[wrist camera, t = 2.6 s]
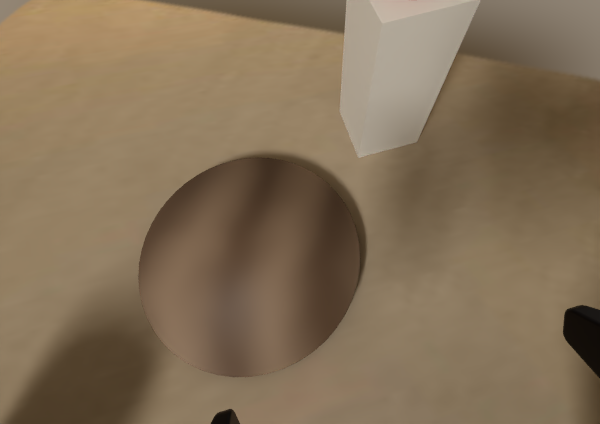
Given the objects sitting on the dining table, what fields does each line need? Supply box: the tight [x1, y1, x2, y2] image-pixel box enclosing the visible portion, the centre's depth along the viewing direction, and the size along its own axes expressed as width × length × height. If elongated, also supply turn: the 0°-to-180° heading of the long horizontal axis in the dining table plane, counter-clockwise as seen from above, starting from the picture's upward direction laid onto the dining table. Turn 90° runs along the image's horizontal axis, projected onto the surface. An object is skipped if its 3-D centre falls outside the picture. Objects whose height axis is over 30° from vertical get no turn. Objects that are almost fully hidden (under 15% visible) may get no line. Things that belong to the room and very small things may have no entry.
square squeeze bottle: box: [340, 0, 480, 158], centre depth 21 cm, size 5×5×14 cm
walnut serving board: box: [139, 158, 360, 377], centre depth 23 cm, size 16×16×1 cm
